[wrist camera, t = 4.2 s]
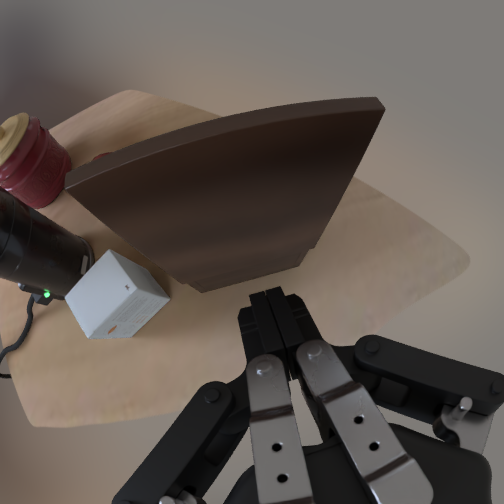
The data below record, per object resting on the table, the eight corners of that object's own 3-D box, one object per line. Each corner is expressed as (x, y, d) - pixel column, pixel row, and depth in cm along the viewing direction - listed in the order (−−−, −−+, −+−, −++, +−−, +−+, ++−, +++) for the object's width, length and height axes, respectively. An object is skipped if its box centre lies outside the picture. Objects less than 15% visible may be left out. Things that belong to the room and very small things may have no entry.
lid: (65, 172, 8) (63, 189, 8) (376, 96, 9) (386, 109, 9) (180, 276, 25) (182, 284, 25) (311, 240, 26) (314, 248, 26)
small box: (147, 268, 35) (109, 245, 25) (172, 299, 34) (139, 287, 24) (108, 306, 34) (62, 296, 24) (130, 338, 33) (87, 339, 23)
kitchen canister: (28, 223, 38) (-36, 183, 21) (25, 175, 41) (-25, 132, 24) (77, 184, 39) (17, 126, 22) (69, 140, 43) (24, 84, 26)
